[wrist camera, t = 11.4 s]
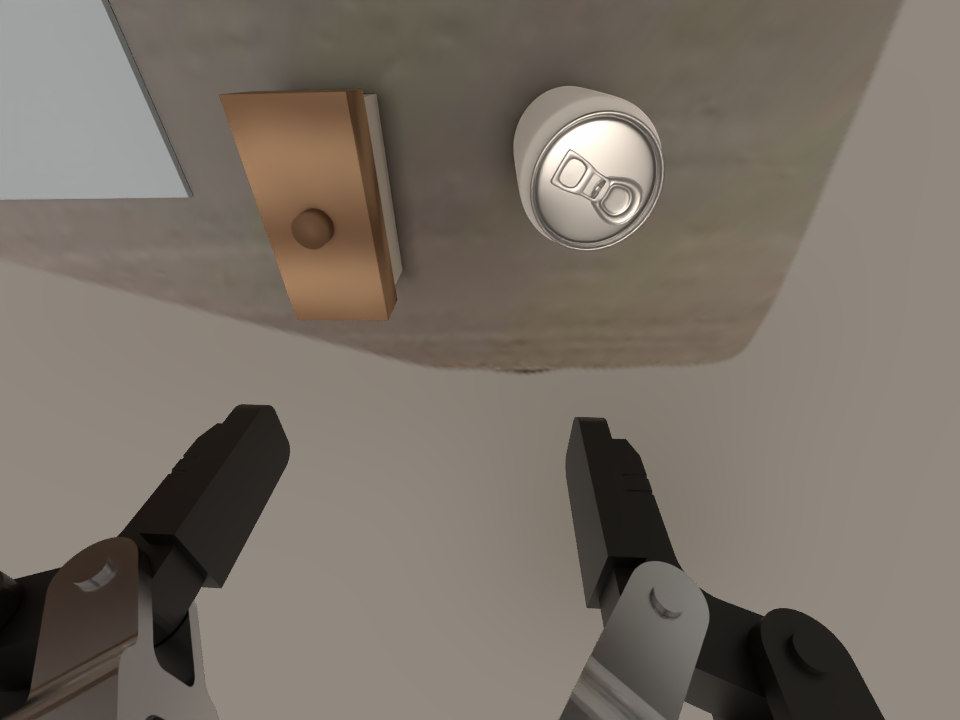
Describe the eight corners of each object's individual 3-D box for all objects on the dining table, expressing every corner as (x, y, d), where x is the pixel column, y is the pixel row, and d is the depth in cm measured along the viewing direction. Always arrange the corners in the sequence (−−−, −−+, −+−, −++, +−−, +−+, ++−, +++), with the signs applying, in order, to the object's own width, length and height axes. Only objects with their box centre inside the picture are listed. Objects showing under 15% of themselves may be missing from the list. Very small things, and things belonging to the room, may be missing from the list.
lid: (249, 91, 22) (204, 96, 19) (362, 88, 22) (337, 93, 18) (313, 299, 30) (289, 329, 26) (397, 299, 29) (384, 329, 26)
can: (573, 210, 29) (609, 282, 19) (495, 166, 27) (493, 220, 18) (631, 119, 25) (711, 151, 16) (546, 62, 24) (577, 59, 14)
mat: (-203, -68, 22) (-216, -70, 21) (73, -80, 21) (64, -83, 21) (-9, 197, 30) (-16, 199, 30) (192, 195, 29) (188, 197, 29)
